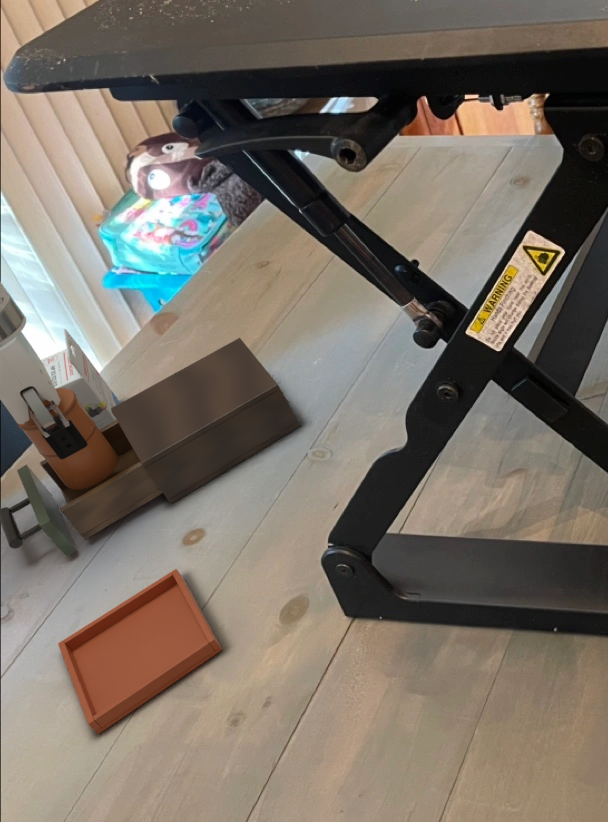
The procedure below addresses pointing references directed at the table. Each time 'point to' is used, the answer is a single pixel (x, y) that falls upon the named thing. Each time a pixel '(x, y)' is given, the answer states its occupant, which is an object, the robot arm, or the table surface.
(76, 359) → the ink box
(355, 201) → the table surface
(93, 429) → the lidded orange canister
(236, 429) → the cabinet
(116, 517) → the drawer
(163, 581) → the tray
